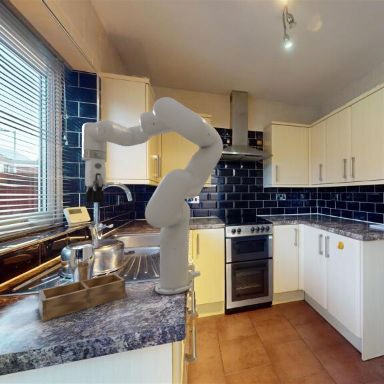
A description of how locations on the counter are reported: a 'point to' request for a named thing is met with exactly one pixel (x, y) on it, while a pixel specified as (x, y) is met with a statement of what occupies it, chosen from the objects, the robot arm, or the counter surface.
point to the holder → (80, 295)
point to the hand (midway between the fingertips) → (94, 202)
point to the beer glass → (82, 262)
